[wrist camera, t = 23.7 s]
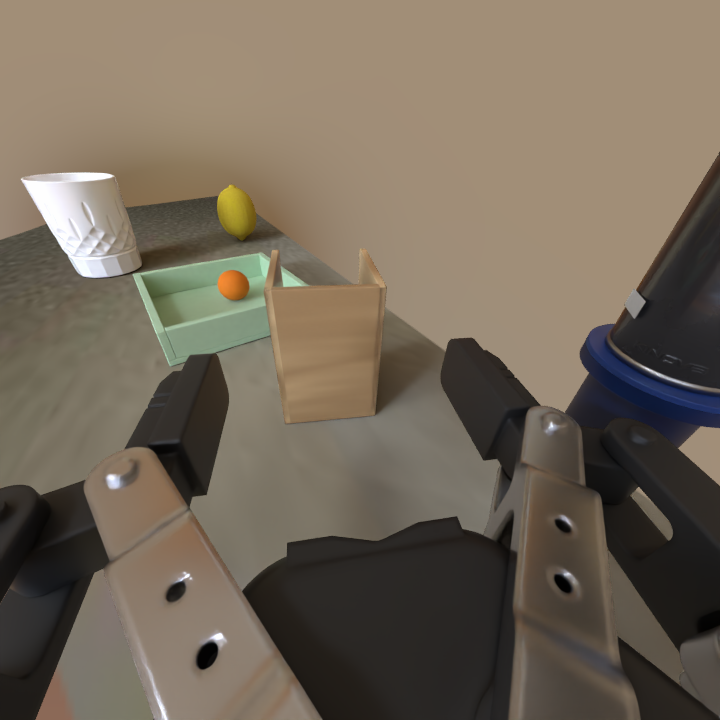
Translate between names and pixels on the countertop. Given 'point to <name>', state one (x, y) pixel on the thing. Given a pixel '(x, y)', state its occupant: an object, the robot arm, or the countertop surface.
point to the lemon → (236, 212)
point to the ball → (233, 285)
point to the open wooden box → (326, 343)
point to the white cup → (87, 221)
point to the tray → (207, 305)
